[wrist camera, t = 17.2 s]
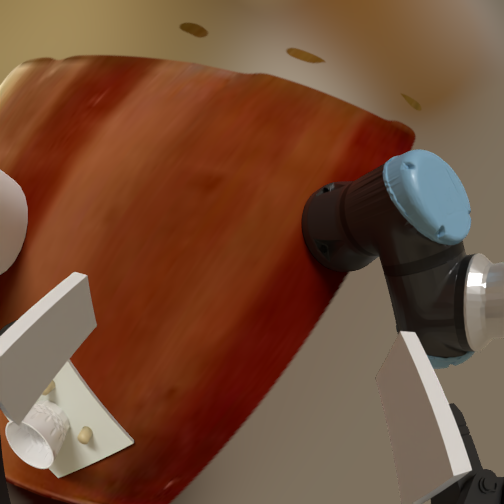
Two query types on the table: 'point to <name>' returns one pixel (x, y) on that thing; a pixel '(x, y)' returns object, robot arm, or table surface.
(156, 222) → the table surface
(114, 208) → the table surface
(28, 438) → the white cup
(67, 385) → the standoff plate
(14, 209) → the cylinder
